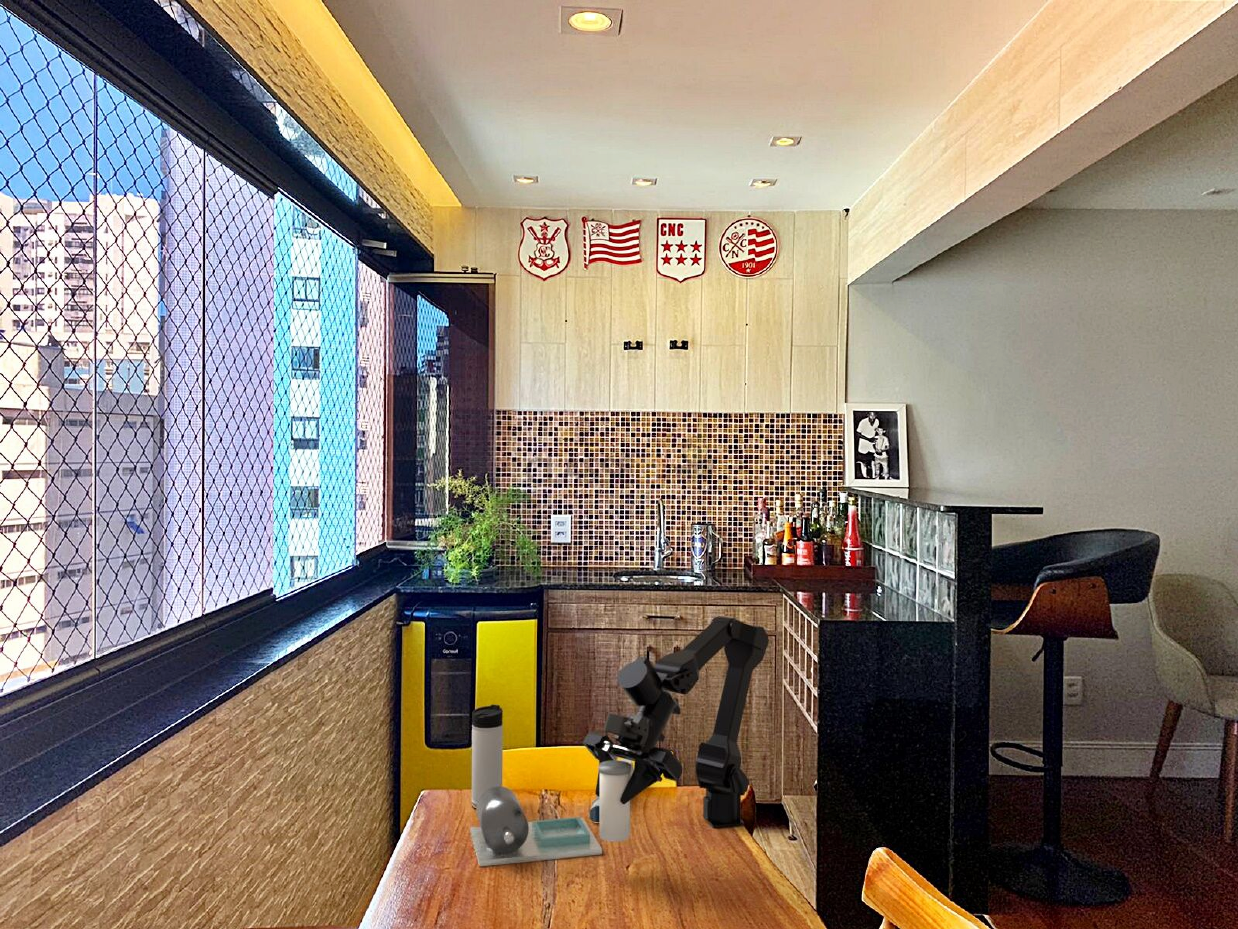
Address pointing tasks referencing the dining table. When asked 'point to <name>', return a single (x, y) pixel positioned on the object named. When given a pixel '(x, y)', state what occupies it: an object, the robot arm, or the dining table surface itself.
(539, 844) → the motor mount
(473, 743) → the travel mug
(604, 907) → the dining table surface
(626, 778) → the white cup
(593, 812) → the light grey long piece
